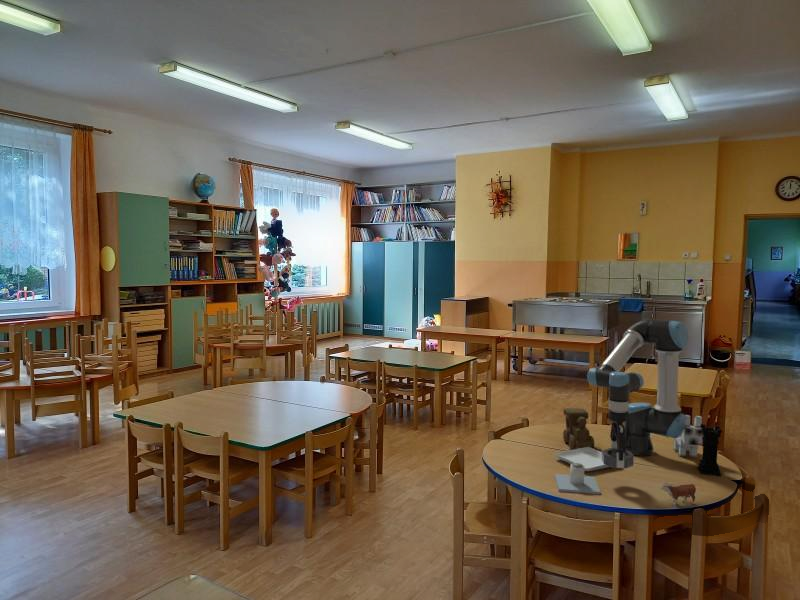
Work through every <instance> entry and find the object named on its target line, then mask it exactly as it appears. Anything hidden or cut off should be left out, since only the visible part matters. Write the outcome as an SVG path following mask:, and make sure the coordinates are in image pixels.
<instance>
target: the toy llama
mask: <svg viewBox="0 0 800 600" xmlns="http://www.w3.org/2000/svg"><path fill="white" fill-rule="evenodd" d="M684 415H685V417H686V424H685V428H684V430H683V432H682V434H681V435H680V436H679V437H678V438H673V448H672V450H673V451H674V452H677V455H678V456H679V457H683V458H685V457H686V456H687V455H686V454H687V453H689V454H688V455H689V457H690V458H695V459H696V458H698V450H699V449H698V446H702V447H703V439H702V437H703V436H704V435H703V433H702V432H701V427H700V425H701V424H703V423H702V422H703V417H702V416H701V415H694V418H693V425H691V415H690V414H684Z"/></svg>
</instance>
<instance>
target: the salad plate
mask: <svg viewBox="0 0 800 600" xmlns="http://www.w3.org/2000/svg"><path fill="white" fill-rule="evenodd" d="M554 456H555V457H556V458H557V459H558V460H561V461H562V462H565V463H567V464H569V465H571V464H573V463H580V464H582V465H584V472H592V471H593V472H594V471H598V470H601V469H607V468H612V467H611V466H608V465H605V464H603V461H602V451H599V450H597V449H595V448H594V449H593V448H590V447H585V448H575V449H574V450H571V449H570V450H565V451H559V452H555V453H554Z"/></svg>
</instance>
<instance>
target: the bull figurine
mask: <svg viewBox="0 0 800 600" xmlns="http://www.w3.org/2000/svg"><path fill="white" fill-rule="evenodd" d="M660 489H661V491H663V490H664V491H665V492H667V493H668V495H669V496H670V497H671V498H672V499H673V500H672V501H671V503H672V502H673V504H672V506H673V505H675V506H676V505H677V501H678V500H679V497H680V498H681V497H682V500H681V501H682V502H683V503H685V502H686V501H687V499H690V498H691V499H692V500H691V502H690V504H691V505H694V504H695V499H696V496H695V494H696V491H697V488H696V486H695V484H693V483H691V484H674V483H669V482H667V481H666V482H665V483H664V484H663V485H662V486H661V487H660Z"/></svg>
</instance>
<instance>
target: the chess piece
mask: <svg viewBox="0 0 800 600" xmlns="http://www.w3.org/2000/svg"><path fill="white" fill-rule="evenodd" d="M700 427H701V432H702V433H703V437H702V459H699V463H698V466H697V467H696V468H697V470H698V473H699V474H700V475H707V476H713V475H714V476H716V477H722V474H721V469H720V466H719V464H718V447H719V446H718V445H719V444H720V442H719V438H721V435H722V434H723V430H722V429H721V427H720V425H714V427H706V424H704V423H702V424H701V425H700Z"/></svg>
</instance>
